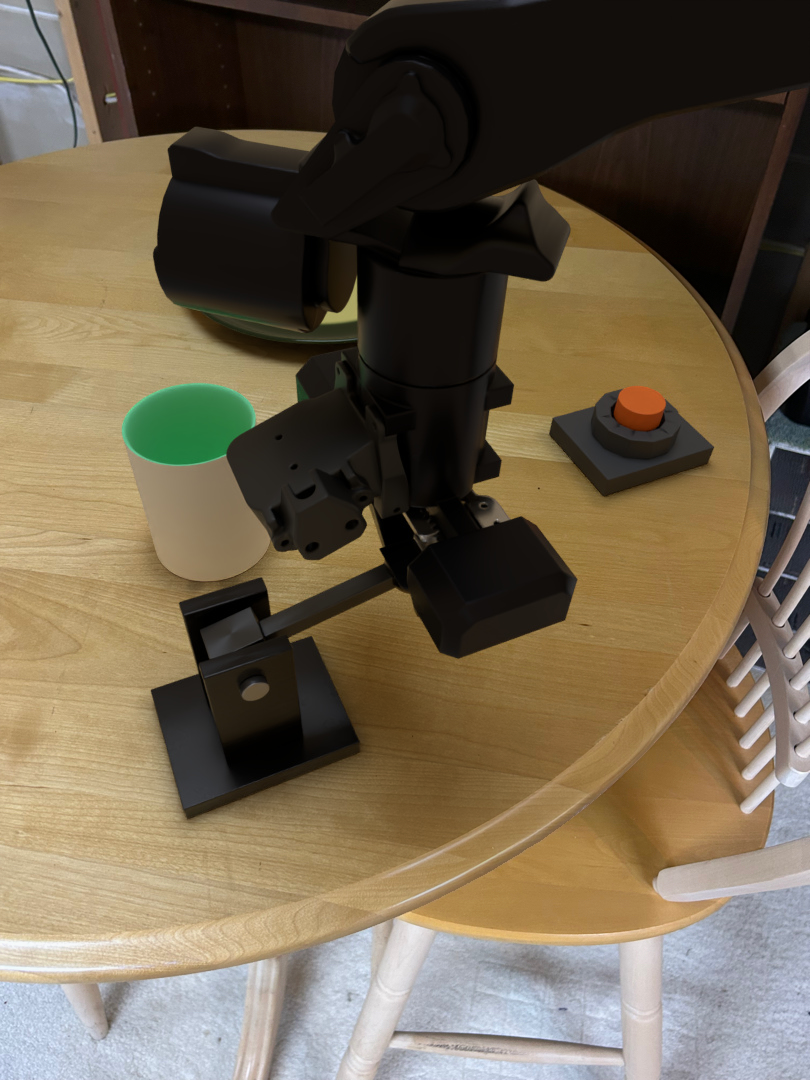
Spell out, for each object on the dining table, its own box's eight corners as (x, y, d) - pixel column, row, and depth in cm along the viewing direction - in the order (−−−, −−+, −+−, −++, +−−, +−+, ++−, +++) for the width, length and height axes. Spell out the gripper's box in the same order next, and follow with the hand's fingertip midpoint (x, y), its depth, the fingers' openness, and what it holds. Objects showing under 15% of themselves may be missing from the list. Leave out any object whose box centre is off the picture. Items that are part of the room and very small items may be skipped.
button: (669, 425, 62) (675, 407, 61) (631, 436, 61) (636, 418, 60) (642, 399, 64) (647, 381, 63) (604, 409, 63) (609, 391, 62)
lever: (431, 549, 45) (424, 512, 42) (457, 590, 43) (451, 554, 41) (215, 649, 43) (194, 617, 41) (231, 697, 41) (210, 666, 39)
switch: (312, 646, 51) (303, 541, 44) (360, 752, 46) (358, 653, 39) (154, 700, 48) (116, 597, 41) (186, 819, 43) (150, 726, 36)
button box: (708, 463, 64) (722, 429, 62) (603, 496, 61) (613, 461, 59) (648, 405, 69) (659, 371, 66) (548, 433, 66) (556, 399, 63)
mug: (147, 473, 61) (116, 358, 54) (253, 456, 63) (237, 342, 55) (159, 591, 53) (124, 475, 46) (280, 568, 55) (265, 453, 48)
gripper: (176, 272, 36) (222, 517, 47) (319, 563, 25) (334, 792, 36) (403, 232, 39) (394, 469, 51) (622, 471, 28) (547, 707, 39)
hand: (411, 589), depth 44 cm, fingers closed on lever, 3 cm apart
